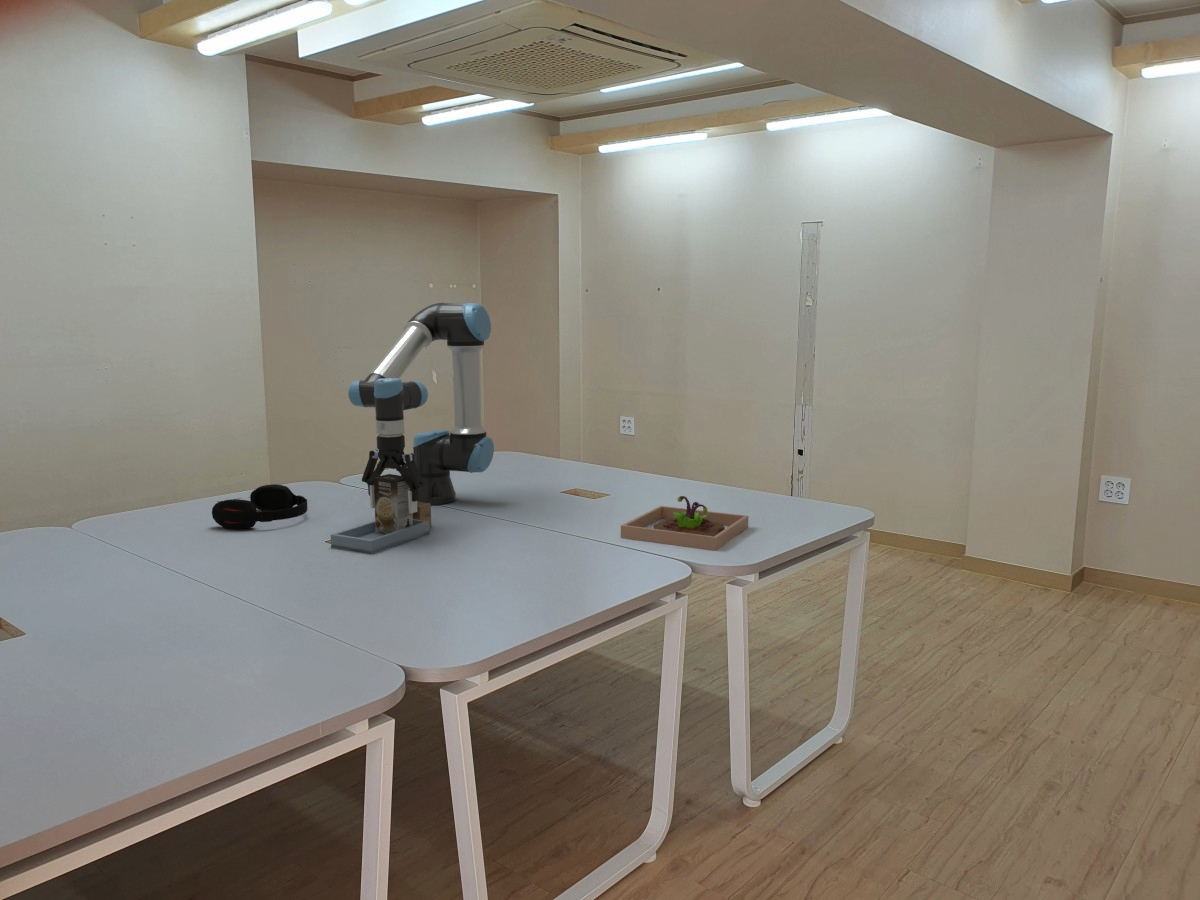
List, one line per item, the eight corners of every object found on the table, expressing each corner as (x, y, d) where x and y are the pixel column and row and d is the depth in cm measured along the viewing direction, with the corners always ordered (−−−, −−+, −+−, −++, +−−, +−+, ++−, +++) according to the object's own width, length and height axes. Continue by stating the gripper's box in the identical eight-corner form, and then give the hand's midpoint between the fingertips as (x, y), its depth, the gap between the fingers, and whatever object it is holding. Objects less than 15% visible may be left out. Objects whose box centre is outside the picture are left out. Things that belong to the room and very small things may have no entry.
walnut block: (406, 528, 253) (405, 504, 252) (417, 524, 257) (416, 501, 256) (420, 530, 251) (419, 506, 250) (431, 526, 255) (430, 503, 254)
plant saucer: (620, 537, 243) (620, 525, 243) (660, 516, 268) (660, 505, 267) (715, 550, 231) (716, 537, 230) (748, 527, 255) (748, 515, 255)
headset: (220, 512, 272) (217, 485, 271) (308, 506, 280) (307, 480, 279) (209, 534, 246) (207, 504, 245) (307, 527, 254) (306, 498, 253)
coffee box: (374, 533, 244) (372, 477, 241) (390, 528, 249) (388, 473, 247) (398, 538, 239) (396, 480, 237) (414, 533, 245) (412, 476, 242)
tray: (331, 547, 233) (330, 534, 232) (391, 527, 254) (390, 515, 253) (371, 554, 226) (371, 541, 226) (429, 533, 247) (429, 521, 247)
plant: (666, 523, 261) (667, 486, 260) (730, 530, 254) (731, 492, 252) (643, 539, 243) (643, 500, 241) (710, 547, 236) (711, 506, 234)
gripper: (346, 433, 242) (350, 507, 246) (417, 440, 231) (421, 517, 235) (365, 429, 249) (368, 502, 252) (435, 436, 237) (438, 511, 241)
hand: (393, 509), depth 244 cm, fingers open, 13 cm apart
